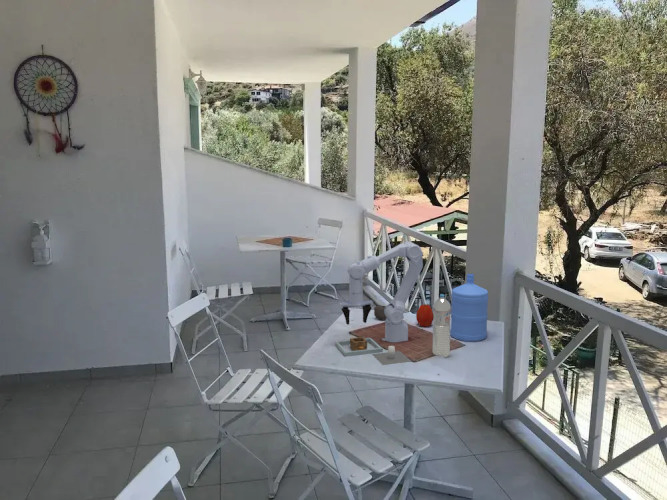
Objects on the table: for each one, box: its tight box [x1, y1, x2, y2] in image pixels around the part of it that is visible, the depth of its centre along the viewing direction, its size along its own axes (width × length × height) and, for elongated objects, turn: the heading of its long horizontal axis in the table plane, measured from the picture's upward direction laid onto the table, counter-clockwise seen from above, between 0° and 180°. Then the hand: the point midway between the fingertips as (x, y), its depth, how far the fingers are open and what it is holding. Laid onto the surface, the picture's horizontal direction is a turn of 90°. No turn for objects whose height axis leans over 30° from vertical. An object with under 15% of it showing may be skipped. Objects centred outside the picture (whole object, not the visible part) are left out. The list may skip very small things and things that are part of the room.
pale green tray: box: [334, 337, 384, 358], centre depth 222 cm, size 16×14×2 cm
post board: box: [371, 345, 413, 366], centre depth 211 cm, size 12×12×6 cm
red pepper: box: [415, 303, 434, 328], centre depth 254 cm, size 8×8×11 cm
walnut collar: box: [349, 336, 368, 351], centre depth 221 cm, size 6×8×4 cm
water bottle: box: [432, 293, 452, 358], centre depth 214 cm, size 7×7×25 cm
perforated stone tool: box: [373, 304, 405, 321], centre depth 263 cm, size 15×5×7 cm, turn 59°
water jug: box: [450, 273, 489, 342], centre depth 236 cm, size 16×16×28 cm
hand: (356, 323), depth 229 cm, fingers open, 7 cm apart
